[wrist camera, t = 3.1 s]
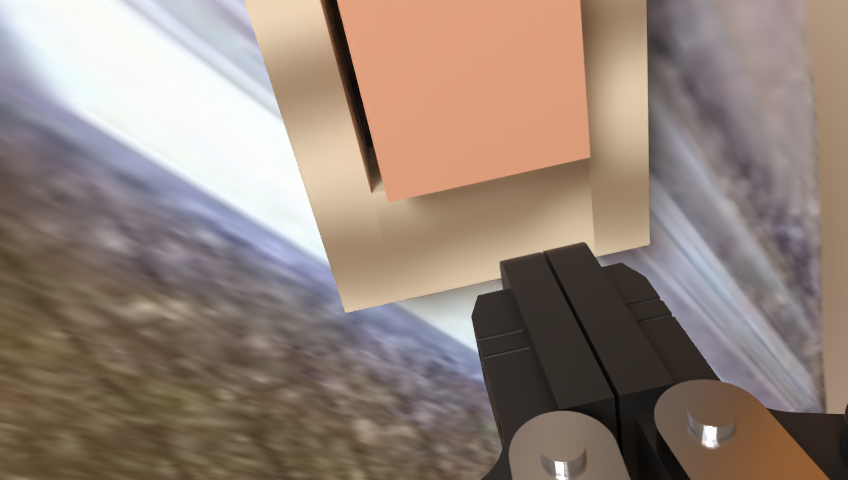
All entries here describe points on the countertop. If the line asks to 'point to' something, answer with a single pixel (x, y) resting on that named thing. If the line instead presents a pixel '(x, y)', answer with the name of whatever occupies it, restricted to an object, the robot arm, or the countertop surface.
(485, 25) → the button
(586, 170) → the button housing
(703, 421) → the robot arm
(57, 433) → the countertop surface
